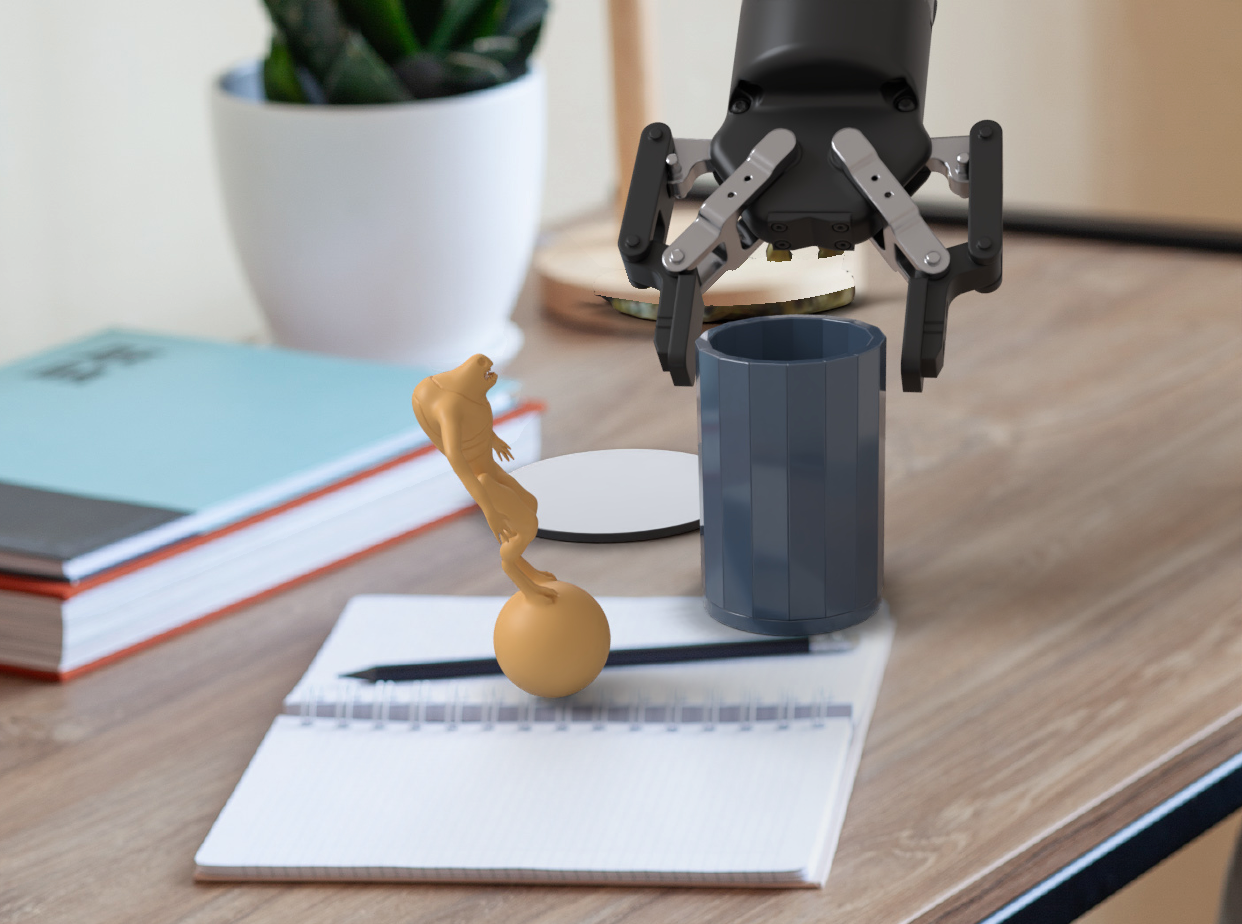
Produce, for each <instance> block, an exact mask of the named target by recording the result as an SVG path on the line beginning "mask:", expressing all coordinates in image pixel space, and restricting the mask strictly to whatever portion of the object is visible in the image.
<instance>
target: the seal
mask: <svg viewBox="0 0 1242 924" xmlns="http://www.w3.org/2000/svg"><path fill="white" fill-rule="evenodd" d="M817 248H818V250H819V251H817V253H818V259H819V258H827V257H832V256H836V255H842V254H843V253H844V251H833V250H829V249H825V248H821V247H817ZM792 255H794V254H793V253H792V251H784V250H773V247H772V244H769V243H767V245H766V249H765V257H767V261H770V262H771V261H775V262H782V261H791V259H792ZM855 295H856V285H855V286H854V287H851V288H848V289H844V290H841V291H837V292H833V293H829V294H825V295H820V296H815V297H810V298H804V299H798V300H791V301H786V302H776V303H765V304H751V305H733V306H713V305H710V306H705V307H704V315H703V323H705V322H707V323H708V322H718V321H723V320H744V319H749V318H754V317H763V316H777V315H791V314H792V315H794V314H799V315H811V314H813V313H818V312H823V311H827V310H832V309H835V308H839V307H842V306H845V305H848V304H850V303H851V302H852V301H854V300H855ZM595 296H596V297H600V298H601V299H603V300H605V301H606V302H609V303H610V304H611V306H612V308H613V310H616V311H618V312H620V313H622V314H626V315H629V316H632V317H636V318H638V319H639V318H640V319H645V320H651V321H656V319H657V312H658V305H659V304H652V303H645V302H639V301H633V300H626V299H619V298H612V297H606V296H601V295H595Z"/></svg>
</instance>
